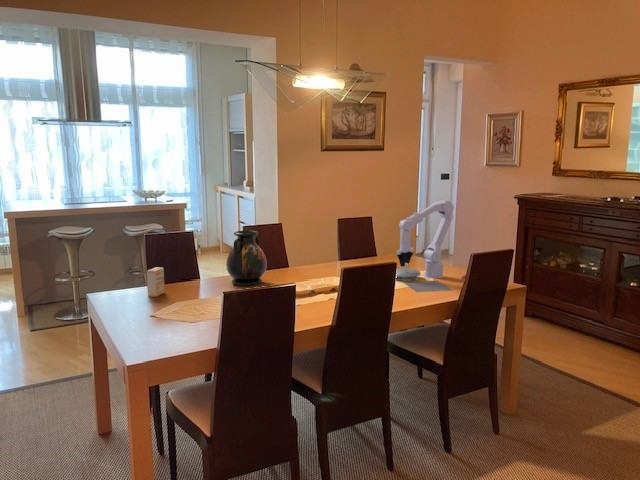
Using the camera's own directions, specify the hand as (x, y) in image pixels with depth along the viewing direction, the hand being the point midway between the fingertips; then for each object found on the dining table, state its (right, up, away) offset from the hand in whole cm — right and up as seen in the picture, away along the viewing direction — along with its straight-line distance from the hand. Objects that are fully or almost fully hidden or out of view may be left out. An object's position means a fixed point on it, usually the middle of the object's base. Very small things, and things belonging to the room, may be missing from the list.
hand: (404, 265), depth 285 cm
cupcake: (+31, -11, -17) cm, 37 cm away
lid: (0, -5, +1) cm, 5 cm away
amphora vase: (-86, -9, -10) cm, 88 cm away
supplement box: (-128, -13, -32) cm, 133 cm away
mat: (+9, -10, -16) cm, 21 cm away
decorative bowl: (0, -8, +1) cm, 8 cm away
